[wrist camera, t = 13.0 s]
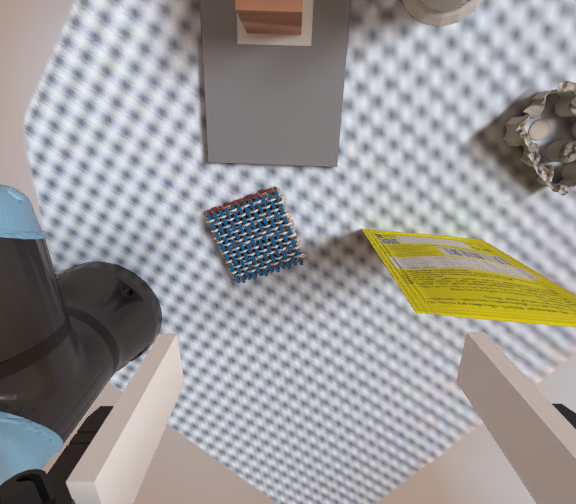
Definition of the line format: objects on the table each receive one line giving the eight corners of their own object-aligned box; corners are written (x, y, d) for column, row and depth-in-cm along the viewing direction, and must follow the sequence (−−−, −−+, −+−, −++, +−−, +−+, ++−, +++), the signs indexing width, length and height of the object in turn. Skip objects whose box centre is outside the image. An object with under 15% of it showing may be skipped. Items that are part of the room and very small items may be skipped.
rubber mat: (210, 161, 39) (208, 162, 38) (196, -106, 30) (193, -112, 29) (336, 166, 39) (337, 166, 38) (358, -101, 30) (359, -108, 29)
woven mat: (280, 181, 40) (280, 184, 38) (307, 258, 44) (308, 263, 42) (203, 208, 41) (199, 212, 40) (235, 280, 45) (232, 287, 43)
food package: (360, 233, 42) (413, 318, 23) (362, 224, 41) (417, 304, 22) (480, 243, 42) (629, 336, 23) (482, 235, 41) (637, 323, 23)
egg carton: (491, 129, 37) (514, 129, 33) (552, 77, 35) (583, 70, 31) (540, 196, 40) (566, 203, 36) (600, 150, 38) (634, 152, 34)
